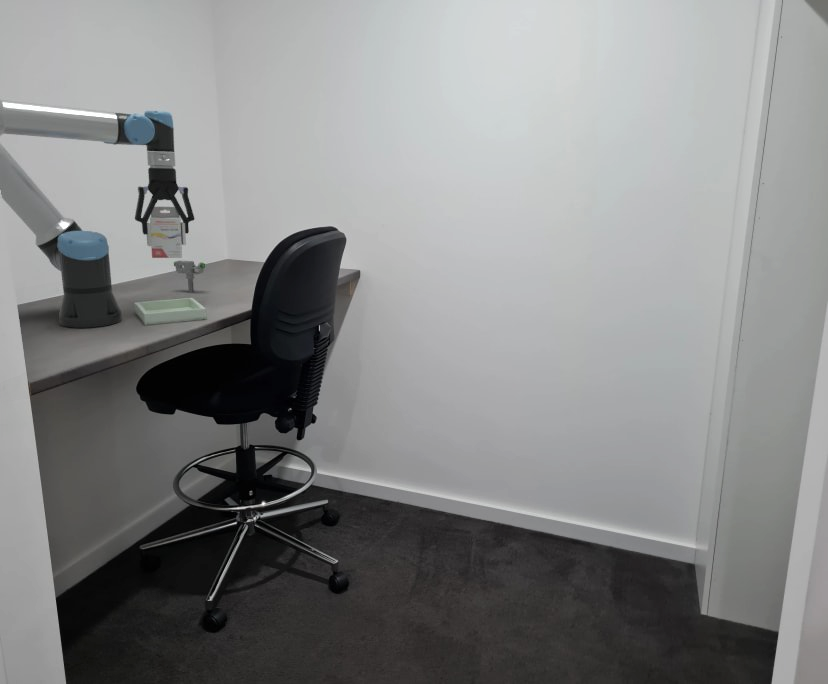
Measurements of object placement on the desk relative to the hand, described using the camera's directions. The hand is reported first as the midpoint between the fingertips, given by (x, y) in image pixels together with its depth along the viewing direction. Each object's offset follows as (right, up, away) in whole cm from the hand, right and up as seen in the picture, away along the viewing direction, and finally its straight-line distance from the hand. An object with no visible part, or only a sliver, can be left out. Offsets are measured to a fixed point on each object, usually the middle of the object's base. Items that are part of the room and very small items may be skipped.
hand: (166, 245), depth 200 cm
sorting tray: (+5, -22, -12) cm, 25 cm away
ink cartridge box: (0, -4, +1) cm, 4 cm away
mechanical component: (0, -13, +21) cm, 24 cm away
